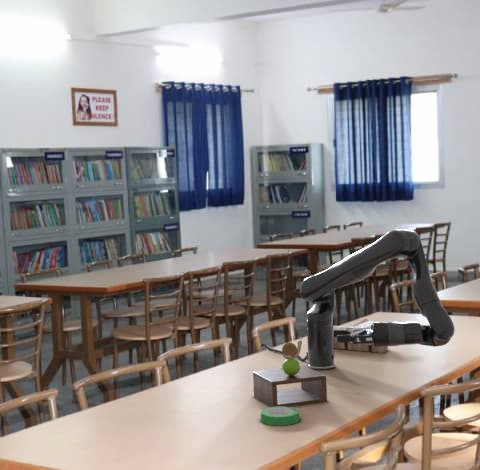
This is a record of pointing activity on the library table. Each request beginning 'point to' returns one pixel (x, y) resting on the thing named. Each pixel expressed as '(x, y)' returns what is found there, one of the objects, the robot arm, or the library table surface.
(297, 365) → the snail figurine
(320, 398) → the shelf
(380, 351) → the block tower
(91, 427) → the library table surface
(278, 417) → the tape roll
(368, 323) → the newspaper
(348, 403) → the library table surface
